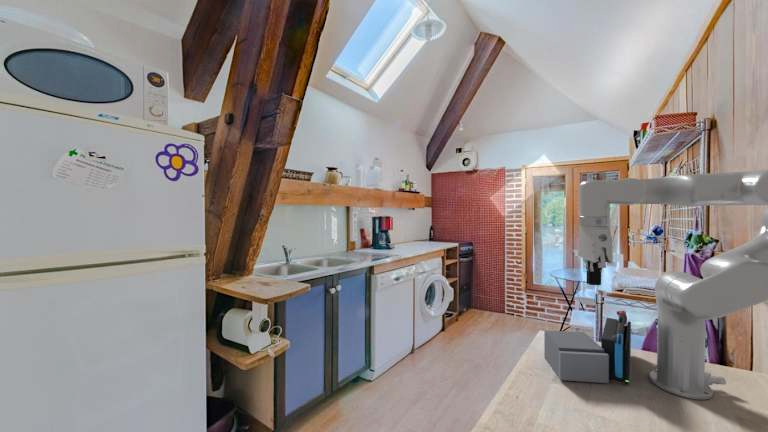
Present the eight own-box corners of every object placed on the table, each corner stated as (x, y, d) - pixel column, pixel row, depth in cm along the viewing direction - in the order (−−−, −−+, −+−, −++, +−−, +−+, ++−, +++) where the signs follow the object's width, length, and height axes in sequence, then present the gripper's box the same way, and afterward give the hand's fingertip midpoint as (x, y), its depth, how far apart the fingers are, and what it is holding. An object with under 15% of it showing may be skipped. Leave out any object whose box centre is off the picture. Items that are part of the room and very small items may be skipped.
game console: (628, 393, 83) (629, 340, 82) (599, 384, 87) (600, 334, 86) (630, 352, 104) (631, 310, 104) (607, 347, 108) (608, 306, 108)
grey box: (603, 381, 88) (604, 349, 88) (558, 378, 90) (558, 347, 90) (583, 359, 100) (584, 332, 100) (544, 357, 102) (544, 330, 102)
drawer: (608, 383, 87) (608, 355, 86) (560, 379, 89) (560, 352, 88) (586, 359, 99) (586, 335, 99) (544, 357, 101) (544, 333, 101)
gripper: (623, 224, 82) (623, 292, 83) (594, 220, 97) (594, 278, 98) (593, 224, 84) (592, 291, 84) (569, 221, 98) (569, 278, 99)
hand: (593, 284), depth 91 cm, fingers closed
